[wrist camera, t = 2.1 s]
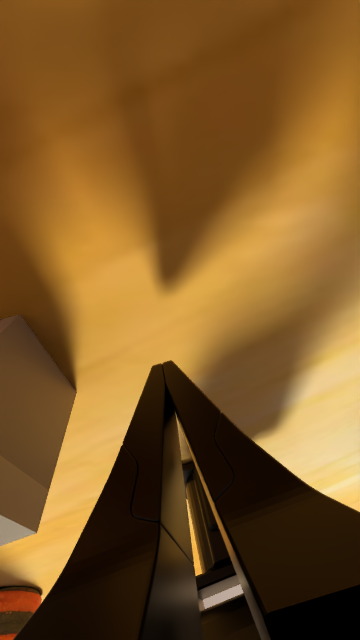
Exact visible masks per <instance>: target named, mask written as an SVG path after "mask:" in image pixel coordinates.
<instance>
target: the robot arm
mask: <svg viewBox="0 0 360 640" xmlns="http://www.w3.org/2000/svg"><path fill="white" fill-rule="evenodd" d="M175 412H176V413H175ZM176 415H177V418H178V421H179V424H180V426H181V429H182V432H183V434H184V437H185V439H186V442H187V445H188V447H189V450H190V453H191V455H192V458H193V460H194V462H193V463H190V464H188V465H185V466H182V461H181V452H180V444H179V435H178V427H177V419H176ZM186 499H187V500H188V503H189V508H190V514H191V519H192V524H193V529H194V534H195V539H196V544H197V549H198V554H199V560H200V565H201V570H202V574H200V575H198V576H195V569H194V566H193V565H194V561H193V553H192V544H191V536H190V528H189V519H188V511H187V502H186ZM239 584H241V587H242V590H243V592H244V593H243V594H241V595H238V596H236V597H233V598H231V599H228V600H226V601H224V602H222V603H219V604H216V605H214V606H212V607H209V608H207V609H205V608H204V604H203V599H205V598H208V597H210V596H213V595H215V594H217V593H220V592H222V591H224V590H227V589H229V588H232V587H234V586H237V585H239ZM13 640H360V512H359V511H357V510H354V509H352V508H350V507H348V506H346V505H344V504H342V503H340V502H338V501H336V500H334V499H332V498H330V497H328V496H326V495H324V494H322V493H321V492H319V491H317V490H315V489H314V488H312V487H311V486H309V485H308V484H306V483H305V482H304V481H302V480H301V479H299V478H298V477H297V476H296V475H294V474H293V473H292V472H291V471H289V470H288V469H287V468H286V467H284V466H283V465H282V464H281V463H279V462H278V461H277V460H276V459H274V458H273V457H272V456H271V455H270V454H268V453H267V452H266V451H265V450H263V449H262V448H261V447H260V446H258V445H257V444H256V443H255V442H254V441H252V440H251V439H250V438H249V437H248V436H247V435H245V434H244V433H243V432H242V431H241V430H240V429H239V428H238V427H237V426H236V425H235V424H234V423H232V422H231V421H230V420H229V419H228V418H227V417H226V415H225V414H224V413H222V412H221V411H220V409H219V408H218V407H217V406H216V405H215V404H214V403H213V402H212V401H211V400H210V399H209V398H208V397H207V396H206V395H205V394H204V393H203V392H202V391H201V390H200V389H199V388H198V387H197V386H196V385H195V384H194V383H193V382H192V381H191V380H190V379H189V378H188V377H187V376H186V374H185V373H184V372H183V371H182V370H181V369H180V368H179V367H178V366H177V365H176V364H175V363H174V362H173V361H171V360H170V361H167V362H164V363H163V364H161V363H160V364H157V365H154V366H152V368H151V371H150V373H149V376H148V378H147V381H146V384H145V386H144V389H143V391H142V394H141V397H140V399H139V402H138V404H137V407H136V410H135V412H134V415H133V417H132V420H131V423H130V425H129V428H128V430H127V433H126V436H125V438H124V441H123V445H122V446H121V448H120V451H119V453H118V456H117V459H116V461H115V463H114V466H113V468H112V471H111V473H110V475H109V478H108V480H107V482H106V484H105V486H104V488H103V490H102V493H101V495H100V497H99V499H98V501H97V503H96V505H95V507H94V509H93V511H92V513H91V515H90V517H89V519H88V521H87V523H86V525H85V527H84V529H83V531H82V533H81V535H80V538H79V540H78V542H77V544H76V546H75V548H74V550H73V552H72V554H71V556H70V558H69V560H68V562H67V564H66V566H65V567H64V569H63V571H62V573H61V574H60V576H59V578H58V579H57V581H56V583H55V584H54V586H53V587H52V589H51V590H50V592H49V593H48V595H47V596H46V598H45V599H44V600H43V602H42V603H41V604H40V606H39V607H38V608H37V610H36V611H35V612H34V613H33V615H32V616H31V617H30V618H29V620H28V621H27V622H26V623H25V625H24V626H23V627H22V629H21V630H20V631H19V632H18V634H17V635H16V636H15V637H14V639H13Z"/></svg>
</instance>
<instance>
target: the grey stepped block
mask: <svg viewBox="0 0 360 640" xmlns="http://www.w3.org/2000/svg"><path fill="white" fill-rule="evenodd" d="M76 393H77V392H76V391H75V389H74V388H73V386H72V385H71V384H70V382H69V381H68V380H67V378H66V377H65V375H64V374H63V373H62V371H61V370H60V369H59V367H58V366H57V364H56V363H55V362H54V360H53V359H52V357H51V356H50V355H49V353H48V352H47V351H46V349H45V348H44V346H43V345H42V344H41V342H40V341H39V340H38V338H37V337H36V335H35V334H34V333H33V331H32V330H31V329H30V327H29V326H28V324H27V323H26V322H25V320H24V319H23V317H22V316H21V315H20V314H19V315H15V316H11V317H8V318H4V319H0V546H2V545H5V544H8V543H10V542H13V541H16V540H19V539H22V538H24V537H27V536H30V535H33V534H35V533H37V531H38V527H39V524H40V520H41V517H42V513H43V510H44V506H45V503H46V499H47V496H48V492H49V488H50V485H51V481H52V478H53V474H54V471H55V467H56V464H57V460H58V457H59V453H60V450H61V446H62V443H63V439H64V435H65V432H66V428H67V425H68V421H69V418H70V414H71V411H72V407H73V404H74V400H75V397H76Z"/></svg>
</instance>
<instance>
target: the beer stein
mask: <svg viewBox="0 0 360 640" xmlns="http://www.w3.org/2000/svg"><path fill="white" fill-rule="evenodd" d="M41 600H42V599H41V596H40V593H39V592H38V591H37V590H35V589H33V588H26V587H8V588H3V589H0V640H13V639H14V637H15V636H16V635H17V634H18V632H19V631H20V630H21V629H22V627H23V626H24V625H25V623H26V622H27V621H28V620H29V618H30V617H31V616H32V615H33V613H34V612H35V611H36V610H37V608H38V607H39V606H40V604H41Z"/></svg>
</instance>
